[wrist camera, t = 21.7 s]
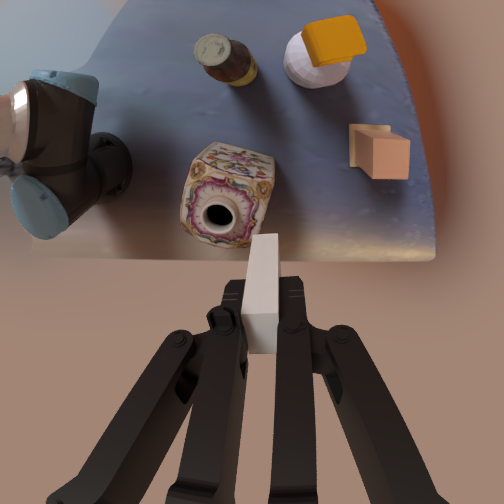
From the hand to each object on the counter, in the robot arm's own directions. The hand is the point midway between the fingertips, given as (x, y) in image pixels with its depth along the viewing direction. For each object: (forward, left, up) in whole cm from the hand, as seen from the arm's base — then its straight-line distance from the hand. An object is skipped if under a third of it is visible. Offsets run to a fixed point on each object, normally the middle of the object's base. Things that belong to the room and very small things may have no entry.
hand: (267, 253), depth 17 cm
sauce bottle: (-4, +15, -35) cm, 38 cm away
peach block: (+18, 0, -34) cm, 38 cm away
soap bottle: (+8, +15, -35) cm, 39 cm away
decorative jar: (-7, -5, -35) cm, 36 cm away
